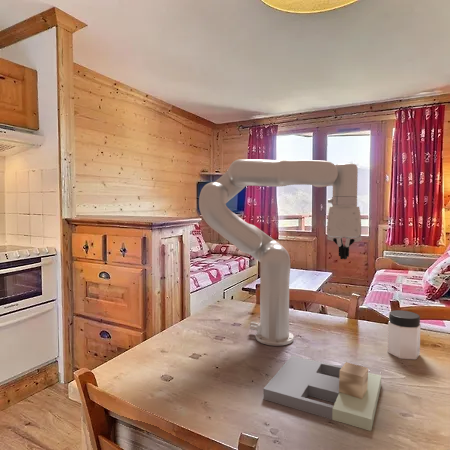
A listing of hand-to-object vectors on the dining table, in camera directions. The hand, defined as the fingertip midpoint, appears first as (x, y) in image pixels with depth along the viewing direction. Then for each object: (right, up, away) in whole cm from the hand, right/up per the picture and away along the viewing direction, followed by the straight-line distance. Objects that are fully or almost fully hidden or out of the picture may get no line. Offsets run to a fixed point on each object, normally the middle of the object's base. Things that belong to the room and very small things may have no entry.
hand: (343, 258), depth 112 cm
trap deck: (-15, -29, -30) cm, 44 cm away
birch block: (-10, -27, -34) cm, 44 cm away
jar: (+15, -28, -9) cm, 33 cm away
